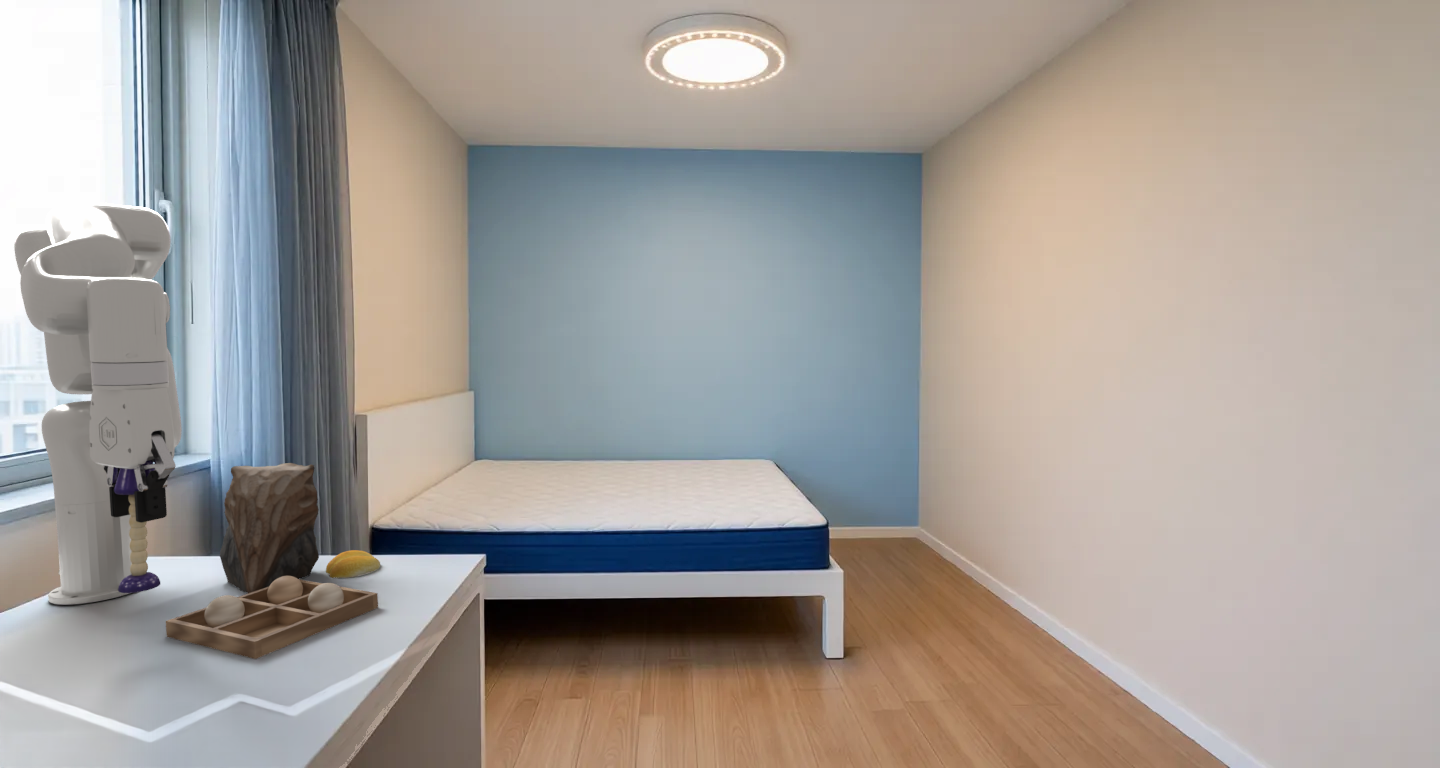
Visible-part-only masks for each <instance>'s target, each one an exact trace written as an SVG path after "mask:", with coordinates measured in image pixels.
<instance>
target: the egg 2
mask: <svg viewBox="0 0 1440 768" xmlns="http://www.w3.org/2000/svg"><path fill="white" fill-rule="evenodd" d="M300 580H301V579H300ZM300 580H299V579H297V578H295V577H293V576H282V577H279V578H277V579H276V580H274V581H273V582H272V583H271V585H270V586H269V588H268V591H267V597H268V600H269V601H270V603H271V604H275V605H279V604H282V603H284V602H287V601H290V600H293V599H295V598H298V597H301V596H302V593H303V586H302V583H301V582H300Z"/></svg>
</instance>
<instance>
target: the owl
mask: <svg viewBox="0 0 1440 768" xmlns="http://www.w3.org/2000/svg"><path fill="white" fill-rule="evenodd" d="M314 472H315V465H314V464H309V465H302V464H296V463H293V462H288V463H284V462H283V463H280V464H278V465H266V466H251V465H236V466H232V467H231V469H230V473H231V475H232V479H231V481H230V485H229V489H228V491H226V493H225V497H224V502H223V503H224V504H223V505H224V509H225V510H224V515H225V518H226V522H227V524H228V526H227V528H226V530H225V534H224V537H223V540H222V545H221V547H220V551H219V557H220V561H221V564H222V565H221V566H222V568H223V571H224V575H225V576H226V580H227V584H231V585H233V586H234V587H236V589H239V591H241V592H243V593H246V594H248V593H251V592H254V591H257V590H260V589H263V588H266V587H269V586H270V585H271V583H272V582H273V581H274V580H276V579H277V578H279V577H282V576H293V577H295V578H297V579H300V580H302V579H303V578H308V577H309V576H311V574H312V570H313V569H314V568H315V567H314V566H315V565H316V563H317V562H318V560H319V557H320V555H319V550H318V547H317V537H316V535H315V532H314V529H315V524H316V519H317V517H318V515H319V511H320V509H319V505H318V491H317V488H316V485H315V483H314V474H315V473H314Z"/></svg>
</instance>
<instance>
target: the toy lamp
mask: <svg viewBox="0 0 1440 768" xmlns="http://www.w3.org/2000/svg"><path fill="white" fill-rule="evenodd" d="M149 464H154V462H152V460H148V461H146V462H145V464H142V465H149ZM153 470H155V469H151V470H145V474H146V478H147V476H148V474H149V473H150V471H153ZM134 491H139V490H138V486H137V481H136V476H135V471H134V469H124V468H120V471H119V475H118V478H117V481H116V485H115V488H114V492H115V493H116V494H120V495H129V498H128V499H129V502H130V504H131V505H130V507H129V513H130V515H131V517H130V519H129V524H130V527H131V529H130V531H129V536H130V538H131V541H130V550H131V551H132V552H131V554H130V561H131V562H132V564H131V567H130V572H131V575H129V576H127V577H125V578H124V579H123V580H122V581H121V583H120V584H119V587H118V591H119V592H121V593H130V594H131V593H140V592H146V591H150V590H153V589H155V588H157V587H160V585H161V580H160V577H158V576H157V574H156V573H153V572H151V571H148V569H149V565H148V563H147V560H148V557H149V556H148V555H149V554H148V551H147V548H148V540H147V536H148V528H147V522H148V521H147V522H142V523H140V522H137V521H136V513H135V496H134Z"/></svg>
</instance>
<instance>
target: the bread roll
mask: <svg viewBox="0 0 1440 768" xmlns="http://www.w3.org/2000/svg"><path fill="white" fill-rule="evenodd" d="M380 567H381V561H380V560H379V559H378V558H376V557H374V555H372V554H371V553H369V552H367V551H365V550H356V549H355V550H354V549H352V550H346V551H343V552H340V553H338V554H337V555H335V556H334V557H333V558H332V559H330V561H329V562H328V563H327V565H326V568H325V573H326V574H327V575H329V578H333V579H348V578H355V577H356V578H357V577H361V576H364V575H367V574H370V573H373V572H375V571H377V570H379V569H380Z"/></svg>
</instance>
